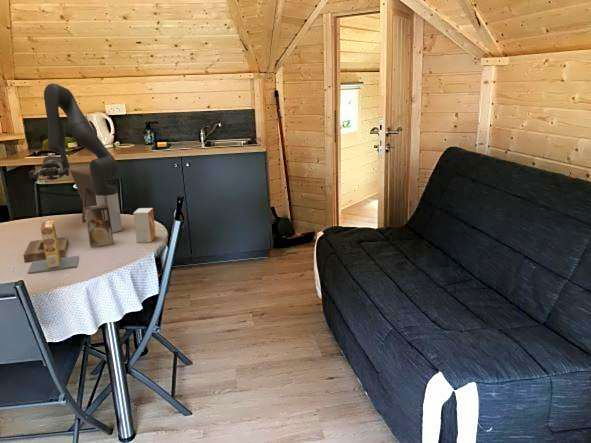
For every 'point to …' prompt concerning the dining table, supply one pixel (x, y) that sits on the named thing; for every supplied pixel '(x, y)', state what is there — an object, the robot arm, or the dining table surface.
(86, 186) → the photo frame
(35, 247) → the pocket board
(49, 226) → the candy box
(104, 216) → the coffee box
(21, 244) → the dining table surface
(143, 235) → the small box
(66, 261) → the slate mat
